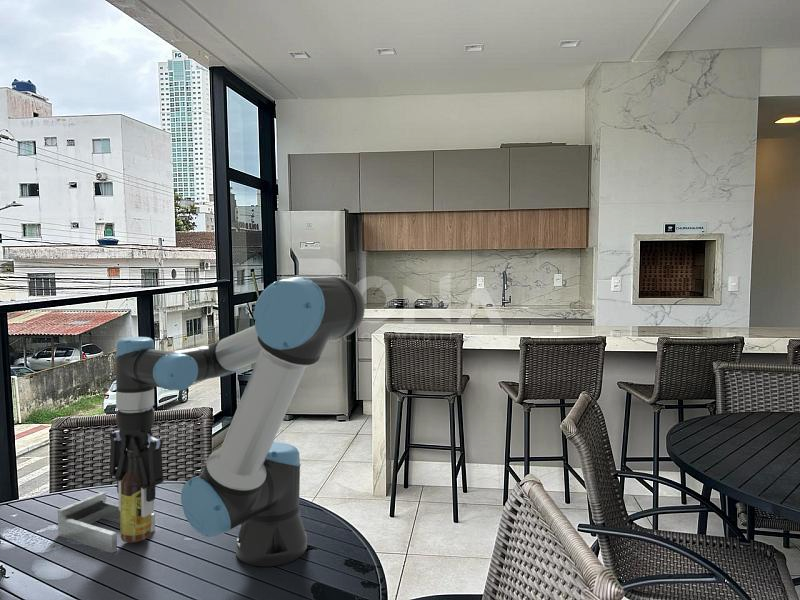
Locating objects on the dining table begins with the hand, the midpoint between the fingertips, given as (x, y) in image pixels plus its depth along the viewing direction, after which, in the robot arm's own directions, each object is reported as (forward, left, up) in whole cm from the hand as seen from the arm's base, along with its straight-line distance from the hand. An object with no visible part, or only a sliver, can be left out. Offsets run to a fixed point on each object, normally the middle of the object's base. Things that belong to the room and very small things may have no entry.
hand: (136, 511), depth 125 cm
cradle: (+9, 0, -7) cm, 11 cm away
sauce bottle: (0, 0, -6) cm, 6 cm away
